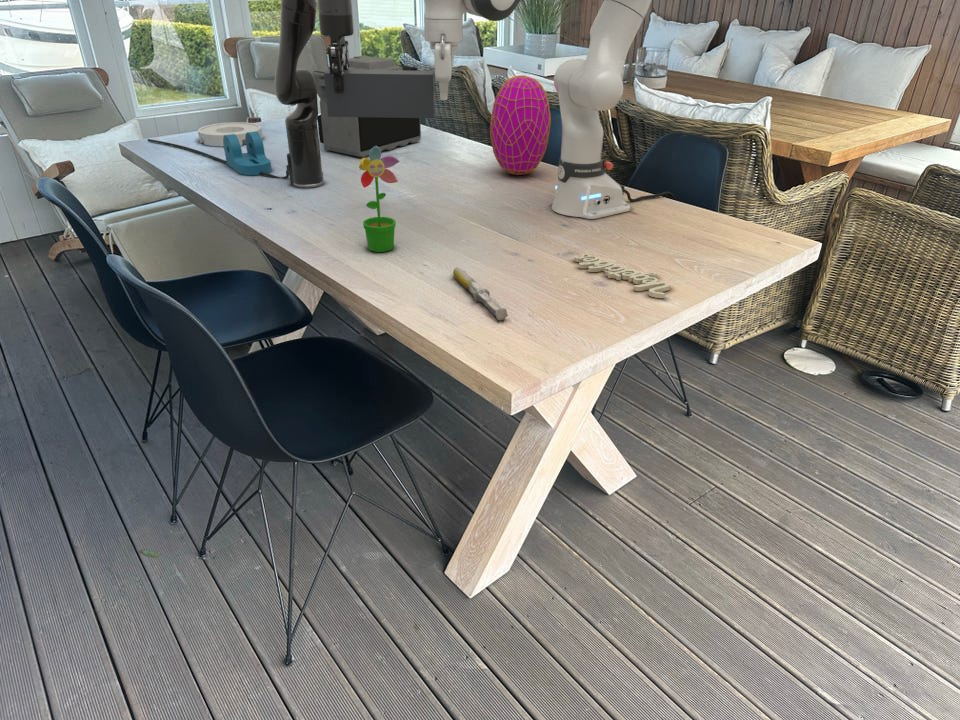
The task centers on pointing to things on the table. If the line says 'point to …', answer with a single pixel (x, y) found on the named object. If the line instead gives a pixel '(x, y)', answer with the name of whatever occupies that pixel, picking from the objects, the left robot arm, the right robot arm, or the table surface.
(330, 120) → the cooler
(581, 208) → the right robot arm
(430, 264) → the table surface
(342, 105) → the box
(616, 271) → the decorative sign
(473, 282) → the syringe
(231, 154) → the camera mount
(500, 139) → the decorative egg
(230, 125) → the ashtray
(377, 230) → the potted flower
